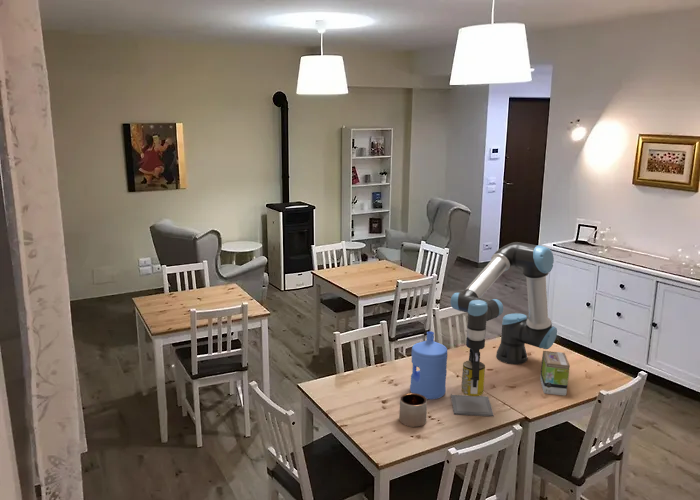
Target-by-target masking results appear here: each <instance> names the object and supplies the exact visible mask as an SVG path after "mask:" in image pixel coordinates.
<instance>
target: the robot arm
mask: <svg viewBox="0 0 700 500" xmlns="http://www.w3.org/2000/svg"><path fill="white" fill-rule="evenodd" d="M490 258H491V260H490V261H489V262H488V263H487V265H486V266H484V268H483V269H482V270H481V271H480V272H479V274H477V275H476V277H475V278H474V279H473V280H472V281H471V282H470V283H469V285H468V286H467V287H466V288H465V289H464V290H463V291H462V292H454V293H452V295H451V298H450V302H449V303H450V306H451V308H452V309H454V310H456V311H459V312H463V313H466V314H467V325H466V326H467V327H466V329H465V332H466V342H465V347H467V348H468V349H469V357H468V361H471V363H472V378H470V380H471V391H470V393H471V394H477V390H478V380H479V366H480V362H481V352H480V350H483V349H484V348H485V347H486V346H485V345H486V332H487V322H489V321H491V320H493V319H497V318H498V317H500V316H502V314H503V312H504V305H503V303H502V301H500V300H499V299H496V298H493V299H489V300H488V299H485V298H482V297H483V296H484V295H485V294H486V292H488V291H489V289H490V288H491V287H492V286H493V284H494V283H496V281H497V280H498V279H499V278H500V276H502V274H503V273H504V272H507V271H508V270H509V269H511V268H512V267H513V268H519V269H521V272H522V275H523V276H524V277H525V278H526V291H527V306H528V307H527V308H528V315H526V314H524V313H515V312H514V313H508V314H505V315H504V316H503V317H502V321H501V336H500V337H501V338H500V344H499V346H498V347H497V350H496V355H495V356H496V359H497V360H498V361H500V362H502V363H506V364H510V365H522V364H525V363H526V362H528V353H527V350H526V345H530V346H532V347H534V348H539V349H543V350H548V349H550V348H551V347H552V346H553V345H554V343H555V341H556V338H557V335H558V329H557V327H556V326H555V325H554V326H553V325H552V324H553V322H552V320H551V318H549V313H548V311H549V310H548V295H547V293H548V292H547V276H548V275H549V273H550V272H551V271H553V270H552V269H553V268H554V263H555V261H554V259H555V258H554V254H553V251H552V250H551V249H550V248H549V247H547V246H543V245H539V244H538V245H536V244H532V243H531V244H530V243H526V242H520V241H519V242H518V241H515V242H511V243H508V244H506V245H504V246H502V247H501V248H499V249H498V250H496V251H495V252H494V253H493V254H492V255H491V257H490ZM527 316H528V317H527ZM525 344H526V345H525Z"/></svg>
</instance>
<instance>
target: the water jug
mask: <svg viewBox="0 0 700 500" xmlns="http://www.w3.org/2000/svg"><path fill="white" fill-rule="evenodd" d="M434 335H435V332H434V331H427V332H426V340H424V341H420V342H417V343H415V344H413V345H412V347H411V364H412V367H411V368H412V370H411V372H412V373H411V375H410V385H409V387H410V388H409V390H410V391H409V392H410V393H416V394H420V395H423V396H424V397H426V399H427V400H437V399H440V398H442V397H443V396H445V394H446V388H447V387H446V384H447V383H446V381H447V363H448V348H447V347H446V346H445V345H444V344H443V343H439V342H437V341H435V336H434ZM417 368H418V369H419V370H417Z"/></svg>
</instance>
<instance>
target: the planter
mask: <svg viewBox="0 0 700 500" xmlns="http://www.w3.org/2000/svg"><path fill="white" fill-rule="evenodd" d="M427 408H428V399H426V397H424V396H423V395H420V394H416V393H411V392H410V393H405V394H402V395H401V396H400V399H399V412H398V415H399V416H398V417H399V418H398V419H399V421H400V423H401V424H402V425H404V426H407V427H410V428H418V427H422V426H423V425H425V424H426V423H427V414H428V412H427V410H428V409H427Z"/></svg>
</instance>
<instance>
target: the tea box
mask: <svg viewBox="0 0 700 500" xmlns="http://www.w3.org/2000/svg"><path fill="white" fill-rule="evenodd" d="M541 357H542V358H541V366H540V367H541V368H540V376H539V380H540V384H541V388H542V391H543V394H548V395H557V396H564V397H565V396H566V395H567V394H568V393H567V391H568V382H569V377H570V375H569V374H570V366H571V365H570V363H569V360H568V357H567V356H566V353H565V352H560V351H550V350H549V351H548V350H543V351H542V355H541Z"/></svg>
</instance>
